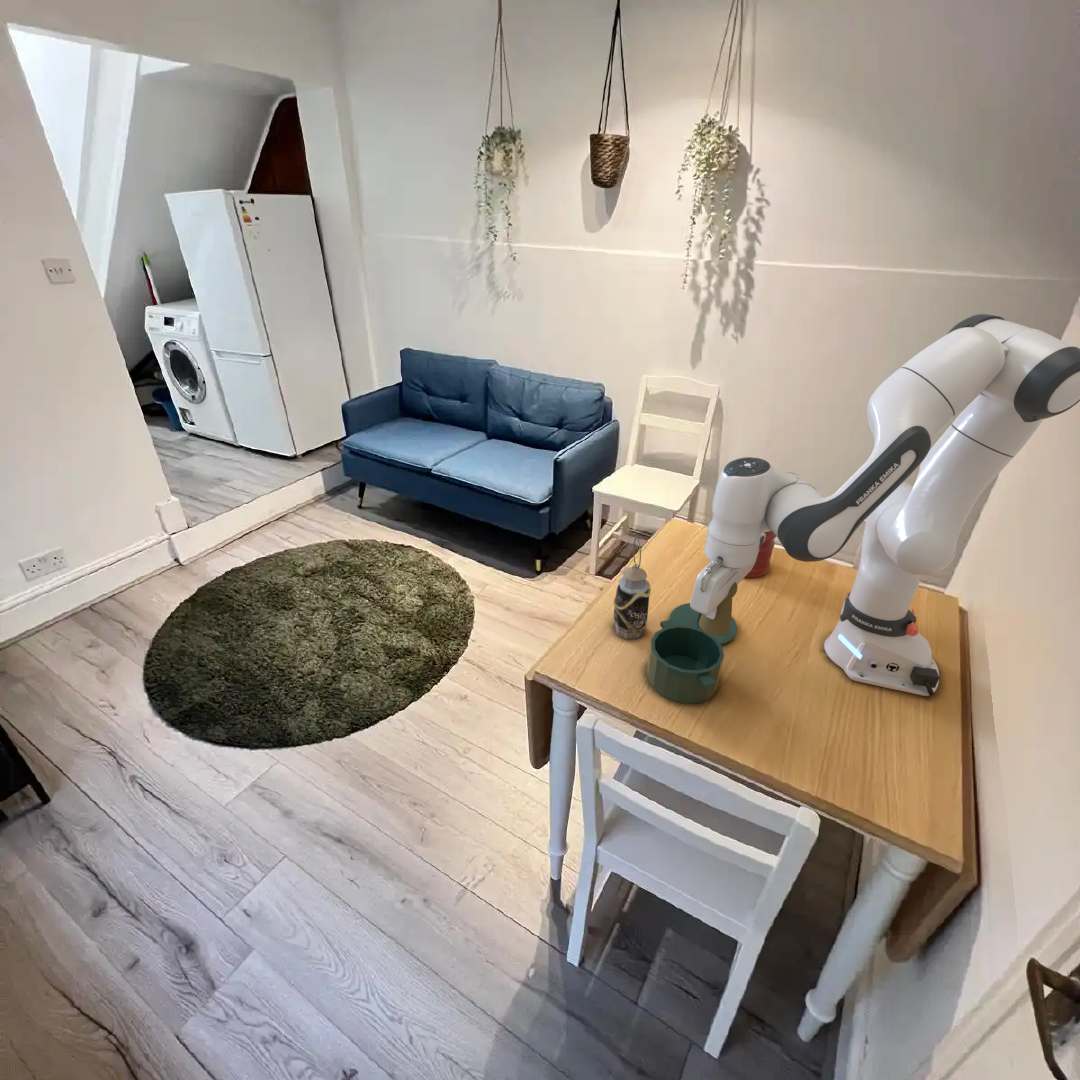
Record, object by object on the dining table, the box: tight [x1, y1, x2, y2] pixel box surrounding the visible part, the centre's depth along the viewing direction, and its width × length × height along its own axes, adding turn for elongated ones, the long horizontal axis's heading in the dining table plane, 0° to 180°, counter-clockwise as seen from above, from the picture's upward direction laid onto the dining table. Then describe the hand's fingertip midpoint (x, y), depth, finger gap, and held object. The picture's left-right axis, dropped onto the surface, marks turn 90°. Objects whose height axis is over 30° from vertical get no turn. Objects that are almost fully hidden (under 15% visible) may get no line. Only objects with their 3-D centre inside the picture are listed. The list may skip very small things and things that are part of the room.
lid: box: [668, 602, 738, 646], centre depth 136 cm, size 16×16×5 cm
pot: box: [646, 619, 725, 705], centre depth 121 cm, size 15×20×8 cm
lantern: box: [613, 537, 652, 640], centre depth 130 cm, size 9×8×25 cm
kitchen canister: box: [744, 530, 777, 579], centre depth 156 cm, size 13×13×18 cm
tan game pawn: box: [699, 582, 738, 636], centre depth 109 cm, size 6×6×11 cm
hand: (718, 608), depth 109 cm, fingers closed on tan game pawn, 4 cm apart
